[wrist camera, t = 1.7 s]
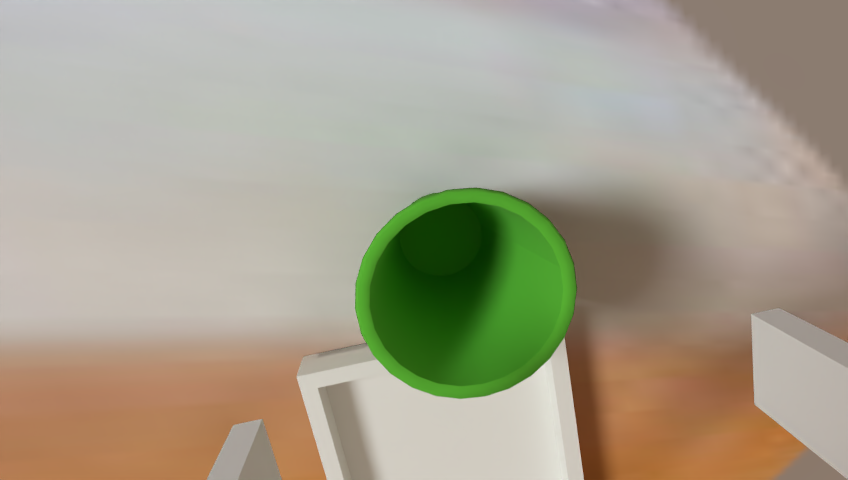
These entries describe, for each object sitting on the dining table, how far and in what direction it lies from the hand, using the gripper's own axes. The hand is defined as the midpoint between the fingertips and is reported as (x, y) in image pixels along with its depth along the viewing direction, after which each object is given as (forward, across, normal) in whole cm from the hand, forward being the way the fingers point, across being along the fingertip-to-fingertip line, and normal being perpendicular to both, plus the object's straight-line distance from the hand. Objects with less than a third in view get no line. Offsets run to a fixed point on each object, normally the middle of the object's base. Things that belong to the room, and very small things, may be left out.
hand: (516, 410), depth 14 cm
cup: (+18, 0, 0) cm, 19 cm away
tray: (+18, -2, -14) cm, 23 cm away
